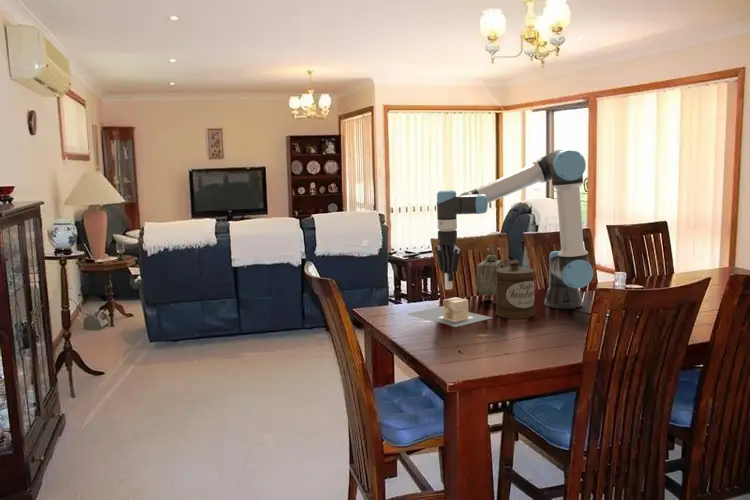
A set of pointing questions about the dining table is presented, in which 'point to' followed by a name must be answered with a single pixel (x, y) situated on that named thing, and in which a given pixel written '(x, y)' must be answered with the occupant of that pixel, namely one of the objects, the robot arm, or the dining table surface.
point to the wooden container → (515, 291)
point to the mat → (437, 316)
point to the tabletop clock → (488, 274)
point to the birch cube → (455, 308)
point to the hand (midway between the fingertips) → (448, 288)
